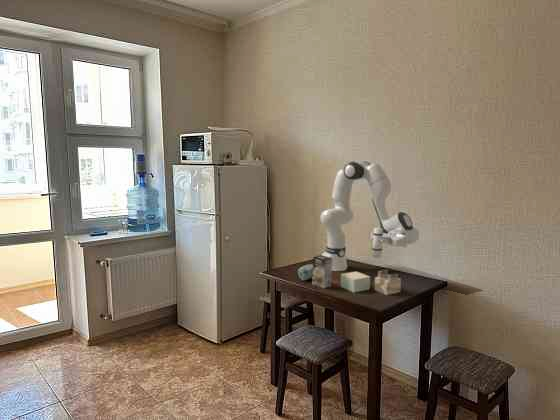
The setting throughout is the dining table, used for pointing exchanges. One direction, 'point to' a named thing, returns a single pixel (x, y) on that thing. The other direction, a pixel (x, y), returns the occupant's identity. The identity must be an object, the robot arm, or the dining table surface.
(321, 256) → the coffee box
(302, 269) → the spool
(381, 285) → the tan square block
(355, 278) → the beige box
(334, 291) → the dining table surface
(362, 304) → the dining table surface
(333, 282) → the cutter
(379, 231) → the white thermos bottle
